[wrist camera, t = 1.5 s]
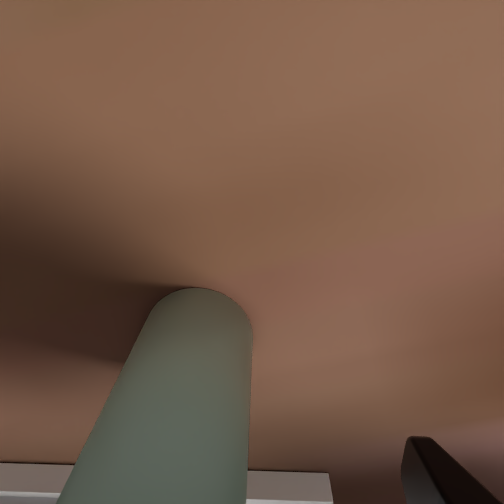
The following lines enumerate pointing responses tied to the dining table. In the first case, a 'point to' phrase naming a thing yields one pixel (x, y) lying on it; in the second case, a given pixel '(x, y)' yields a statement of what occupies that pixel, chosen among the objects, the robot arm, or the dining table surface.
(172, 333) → the cylinder
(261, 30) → the dining table surface
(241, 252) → the dining table surface
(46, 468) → the board
